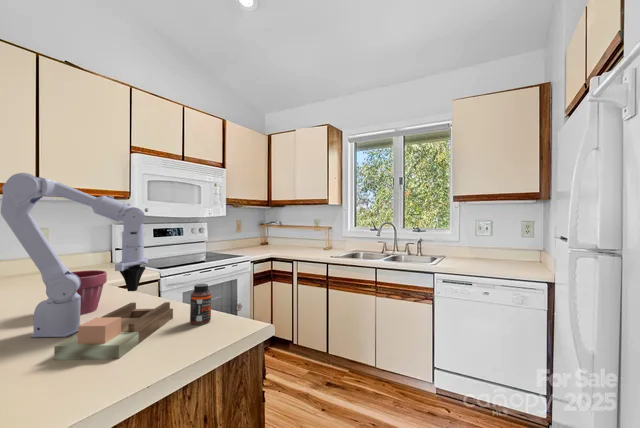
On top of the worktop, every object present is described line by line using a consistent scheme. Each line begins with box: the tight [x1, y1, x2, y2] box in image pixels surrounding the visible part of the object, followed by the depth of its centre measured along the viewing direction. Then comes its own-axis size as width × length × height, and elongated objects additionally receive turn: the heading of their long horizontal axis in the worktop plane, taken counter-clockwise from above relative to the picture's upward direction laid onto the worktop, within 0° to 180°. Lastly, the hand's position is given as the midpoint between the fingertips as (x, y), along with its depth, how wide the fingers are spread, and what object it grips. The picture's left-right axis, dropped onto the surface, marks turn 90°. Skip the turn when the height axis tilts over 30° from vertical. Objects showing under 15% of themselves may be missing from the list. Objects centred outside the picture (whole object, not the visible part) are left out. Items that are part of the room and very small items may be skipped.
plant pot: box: [70, 269, 108, 316], centre depth 102 cm, size 14×14×13 cm
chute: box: [53, 301, 174, 361], centre depth 82 cm, size 14×28×5 cm, turn 3°
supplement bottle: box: [189, 283, 212, 325], centre depth 93 cm, size 6×6×11 cm
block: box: [77, 317, 121, 344], centre depth 72 cm, size 6×6×4 cm
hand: (132, 290), depth 93 cm, fingers closed
